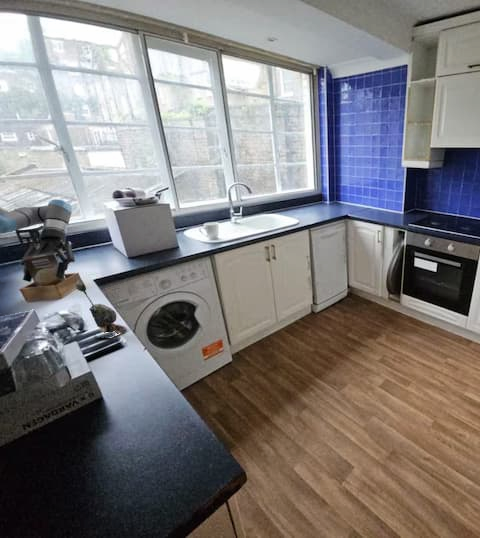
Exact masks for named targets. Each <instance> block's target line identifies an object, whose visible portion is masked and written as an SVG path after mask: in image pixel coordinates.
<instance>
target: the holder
mask: <svg viewBox="0 0 480 538" xmlns="http://www.w3.org/2000/svg"><path fill="white" fill-rule="evenodd" d="M42 228H43V224H40V225H39V226H38V227H34V228H26V229H19V230H16V231H14V232H15V234H16V236H17V239H18V242H19V243H20V246H21V248H22V250H23V253H24V255H25V254H26V252H27V251H28V249H27V247H28V246H29V247H30V244H31V243H34V244H39V243H40V242H41V238H40V236H41V232H40V231H42ZM26 233H29V236H21V234H26ZM24 240H26V243H25V242H24ZM31 241H32V242H31ZM42 251H43V250H42ZM43 252H44V251H43Z"/></svg>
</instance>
